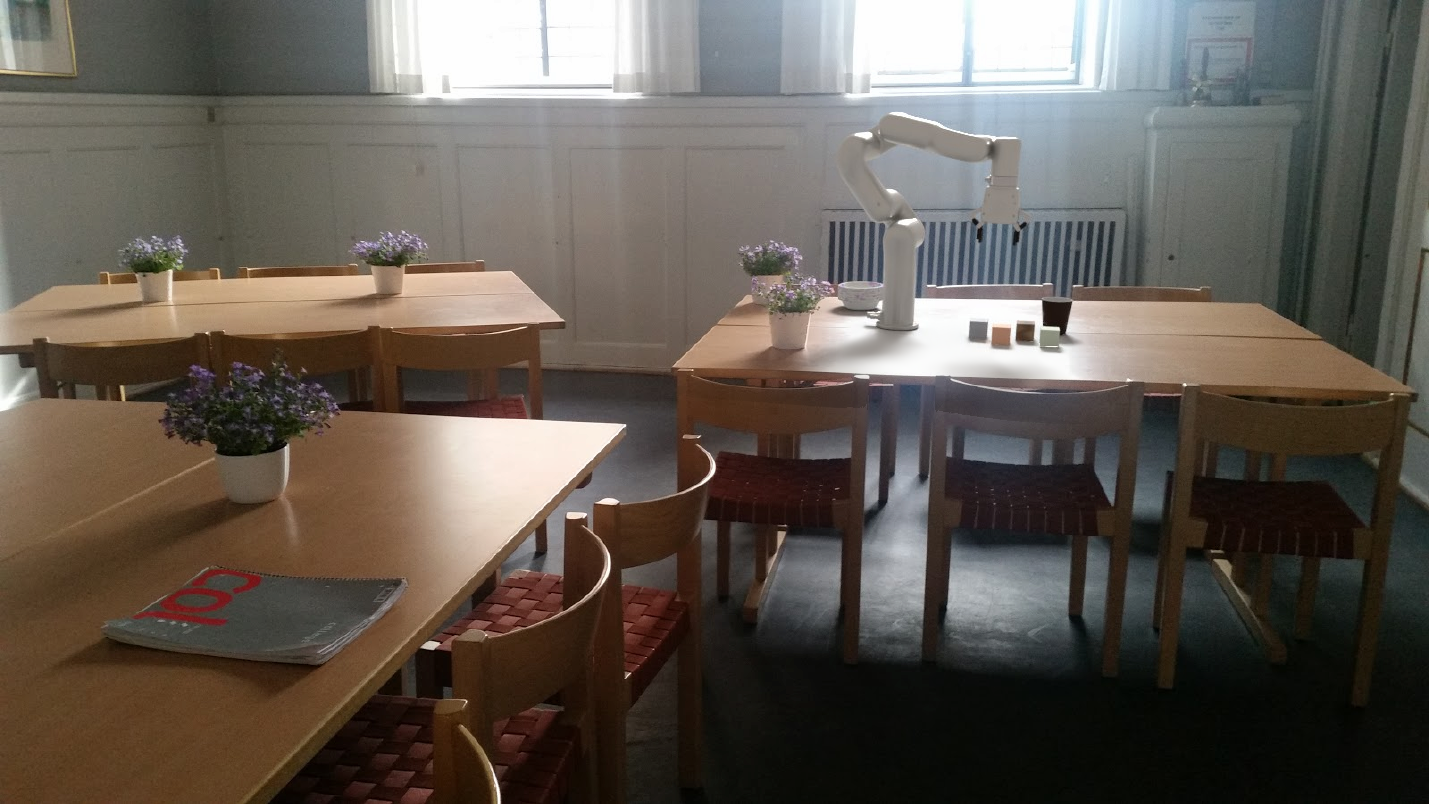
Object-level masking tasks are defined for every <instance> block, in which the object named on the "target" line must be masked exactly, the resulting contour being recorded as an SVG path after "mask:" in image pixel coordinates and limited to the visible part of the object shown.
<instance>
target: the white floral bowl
mask: <svg viewBox="0 0 1429 804" xmlns="http://www.w3.org/2000/svg"><path fill="white" fill-rule="evenodd" d="M837 300H839V301H842V304H843V306H844V308H846V309H847V310H852V311H853V310H854V311H869V310H870V311H872V310H875V309H876V308H877V307H878V306H879V303H880V302H881V301H883V283H881V282H877V281H876V282H875V281H846V282H842V283H839V284H838V285H837Z"/></svg>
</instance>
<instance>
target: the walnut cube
mask: <svg viewBox="0 0 1429 804" xmlns="http://www.w3.org/2000/svg"><path fill="white" fill-rule="evenodd" d="M1035 331H1036V321H1035V320H1019V319H1018V320H1016V327H1015V341H1016V342H1030V341H1035Z"/></svg>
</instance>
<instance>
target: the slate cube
mask: <svg viewBox="0 0 1429 804" xmlns="http://www.w3.org/2000/svg"><path fill="white" fill-rule="evenodd" d="M968 325H969V326H968V327H969V328H968V338H969V339H979V340H980V339H982V340H983V339H984V340H987V339H988V330H989V329H988V327H989V318H979V317H978V318H977V317H970V319H969V324H968Z"/></svg>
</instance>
